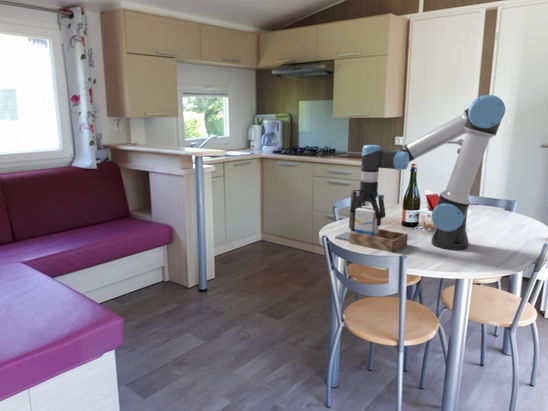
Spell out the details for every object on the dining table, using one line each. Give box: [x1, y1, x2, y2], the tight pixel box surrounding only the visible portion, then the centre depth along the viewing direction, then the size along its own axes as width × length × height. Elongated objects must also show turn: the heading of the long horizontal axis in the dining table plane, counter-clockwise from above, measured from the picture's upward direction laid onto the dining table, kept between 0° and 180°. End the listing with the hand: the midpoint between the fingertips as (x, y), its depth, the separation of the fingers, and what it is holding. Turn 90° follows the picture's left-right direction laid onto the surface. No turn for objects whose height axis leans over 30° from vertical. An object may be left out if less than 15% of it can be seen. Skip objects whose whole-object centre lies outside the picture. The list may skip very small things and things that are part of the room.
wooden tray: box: [348, 228, 409, 254], centre depth 195 cm, size 21×13×5 cm, turn 52°
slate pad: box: [334, 231, 350, 242], centre depth 204 cm, size 8×10×1 cm
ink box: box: [353, 205, 380, 236], centre depth 197 cm, size 9×8×12 cm
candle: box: [348, 189, 366, 231], centre depth 214 cm, size 8×7×20 cm
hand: (366, 230), depth 198 cm, fingers closed on ink box, 9 cm apart
